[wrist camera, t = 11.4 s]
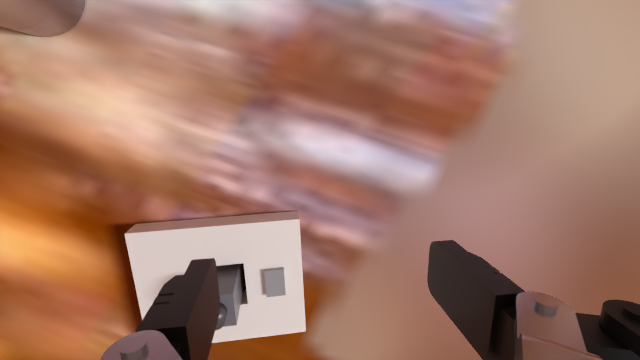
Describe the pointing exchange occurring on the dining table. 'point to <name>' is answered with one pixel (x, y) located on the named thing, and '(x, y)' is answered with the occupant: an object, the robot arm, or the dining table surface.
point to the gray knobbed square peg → (229, 294)
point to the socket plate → (228, 248)
